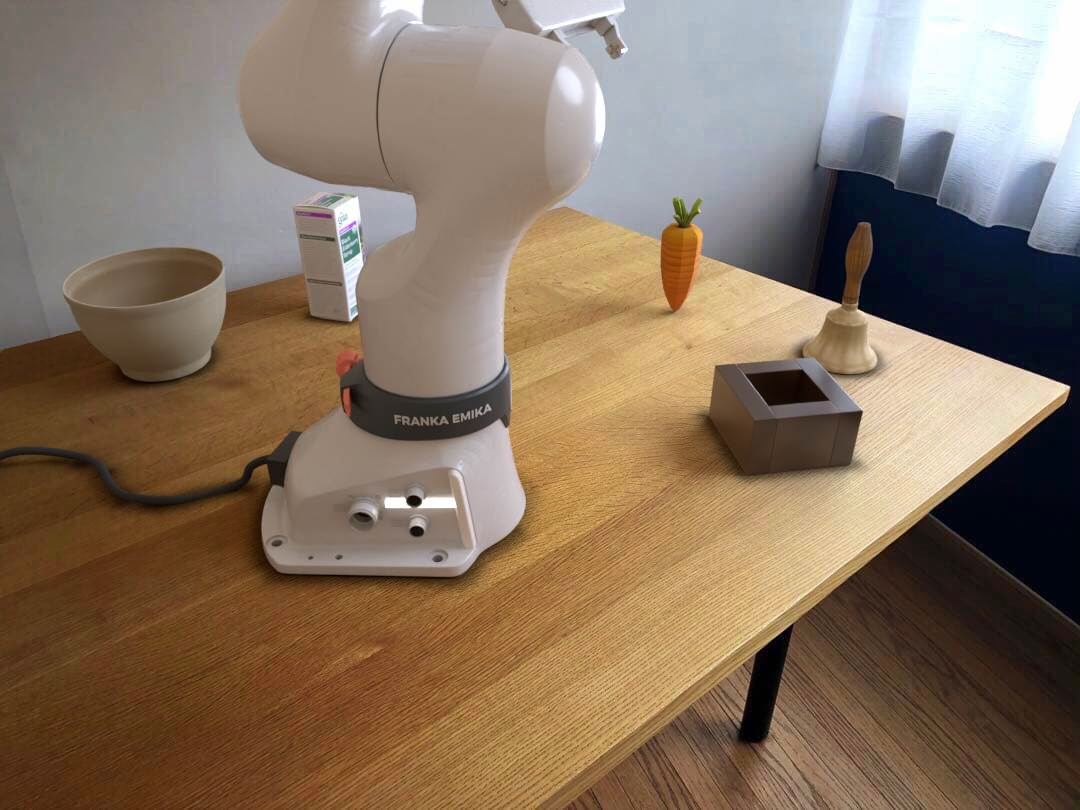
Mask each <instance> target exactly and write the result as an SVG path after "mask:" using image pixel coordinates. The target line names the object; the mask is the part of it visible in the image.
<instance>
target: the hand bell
mask: <svg viewBox="0 0 1080 810" xmlns="http://www.w3.org/2000/svg"><path fill="white" fill-rule="evenodd" d="M873 248H874V247H873V235H872V228H871V223H870V222H864V221H862V222H858V223H857V226H856V228H855V230H854V232H853V234H852V236H851V237H850V239H849V241H848V244H847V248H846V252H845V271H846V281H845V287H844V290H843V296H842V302H841V305H840V306H838V307H837V306H836V307H834V308H831V309H830V310H828V311H827V313H826V315H825V318H824V321H823V324H822V326H821V329H820V331H819V332H818V334H817V335H816V336H815V337H814V338H812V339H811V340H809V341H807V343H805V345H804V346H803V347H802V356H803V358H811V357H813V358H815V360H816V361H817V362H818V363H819V364H820V365H821V366H822V367H823V368H824V369H825V370H826V371H827V372H828V373H829V372H830V373H833V374H834V373H835V374H840V375H859V374H864V373H867V372H870V371H872V370H873V369H875V368H876V367H877V365H878V357H877V354H876V352H875V351H874V349H873V348H872V347H871V345H870V342H869V337H868V327H869V325H868V324H869V318H868V317H869V316H867V314H866V313H865V312H864V311H862V310H860V309H858V306H859V300H860V299H859V296H860V291H861V286H862V280H863V277H864V276H865V274H866V272H867V270H868V268H869V266H870V262H871V259H872V256H873V255H872V254H873Z"/></svg>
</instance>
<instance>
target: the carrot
mask: <svg viewBox="0 0 1080 810" xmlns="http://www.w3.org/2000/svg"><path fill="white" fill-rule="evenodd" d="M703 202H704V200H703V198H699V197H698V198H697V199H696V201H695V202H694V203H693V205H692V206H691V209H690V210H689V211H690V212H689V211H687V208H686V205H685V203H684V201H683V198H680V197H679V196H675V197H673V198H672V205H673V209H674V212H675V214H673V215H672V217H673V219H674V221H675V222H672V223H670V224H669V225H667V226H666V227H665V228H664V229H663V230H662V232H661V238H660V242H661V243H660V262H659V263H660V275H661V282H662V288H663V292H664V296H665V298H666V300H667V303H668V305H669V308H670V309H671V310H672V311H673V312H678V311H679V310H680V309H681V308H682V306H683V305H684V303H685V302H686V300H687V298H688V297H689V295H690V293H691V291H692V289H693V286H694V283H695V280H696V276H697V273H698V270H699V266H700V260H701V255H702V247H703V239H704V233H703V231H702V230H701V228H700V227H698V226H696V225H695V224H694V223H691V222H692V221H693V219H694V218H695V217H696V216H697V215H700V214H701V212H702V211H701V209H700V207H701V205H702V204H703Z"/></svg>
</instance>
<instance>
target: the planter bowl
mask: <svg viewBox="0 0 1080 810" xmlns="http://www.w3.org/2000/svg"><path fill="white" fill-rule="evenodd" d="M225 278H226V267H225V264H224V261H223V260H222V259H221V258H220V257H219V256H218V255H216V254H215V253H212V252H210V251H207V250H204V249H200V248H195V247H190V246H189V247H187V246H151V247H150V246H149V247H144V248H143V247H142V248H141V247H140V248H135V249H129V250H124V251H120V252H115V253H112V254H109V255H105V256H102V257H99V258H96V259H94V260H91V261H89V262H86V263H85V264H83V265H81V266H79V267H78V268H76V269H74V270H73V271H72V272H71V273H70V274H69V275H67V276H66V277H65V278H64V280H63V281H62V283H61V293H62V296H63V298H64V300H65V302H66V303H67V305H68V306H69V308H70V311H71V314H72V317H74V320H75V322H76V324H77V326H78V328H79V329H80V331H81V333H82V334H83V335H84V336H85V338H86V339H87V340H88V341H89V343H90V344H91V345H92V346H93V347H94V348H95V349H96V350H97V351H99V352H100V353H101V355H102V356H104V357H106V359H108V360H110V361H111V362H112V363H114V364H116V365H117V366H118V367H119V368H120V370H121V372H122V374H123V375H124V376H126V377H128V378H130V379H132V380H135V381H140V382H150V383H153V382H154V383H155V382H165V381H172V380H176V379H180V378H183V377H186V376H189V375H191V374H193V373H196V372H197V371H199V370H200V369H202V368H204V367H205V366H206V365H207V363H208V362H209V361H210V359H211V356H212V347H213V345H214V344H215V342H216V340H217V339H218V336H219V334H220V332H221V329H222V326H223V322H224V319H225V314H226V309H227V308H226V307H227V290H226V289H227V287H226V281H225V280H226V279H225Z"/></svg>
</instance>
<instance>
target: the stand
mask: <svg viewBox="0 0 1080 810" xmlns="http://www.w3.org/2000/svg"><path fill="white" fill-rule="evenodd" d="M863 414H864V410H863V409H862V408H861V407H860V405H859V404H858V403H857V402H856V401H855V400H854V399H853V398H852V397H851V396H850V395H849V394H848V393H847V392H846V390H845V389H844V388H843V387H842V386H841V385H840V384H839V383H838V382H837V381H836V380H835V379H834V377H833V376H831V375H830V373H829V371H826V370H825V369H824V368H823V367H822V366H821V365H820V364H819V363H818V362H817V361H816V360H815V358H813V357H811V358H804V357H800V358H799V357H798V358H789V359H787V358H786V359H775V360H764V361H753V362H751V361H750V362H738V363H727V364H715V365H714V371H713V379H712V388H711V395H710V402H709V411H708V417H709V420H710V421H711V422H712V425H714V427H715V429H716V430H717V431H718V433H719V435H720V436H721V439H722V440H723V441H724V443H725V444H726V446H727V447H728V449H729V451H730V452H731V454H732V455H733V457H734V458H735V460H736V461H737V463H738V465H739V467H740V468H741V470H742V471H743V473H744V474H745V476H751V475H761V474H771V473H781V472H792V471H801V470H810V469H821V468H829V467H839V466H850V465H852V461H853V457H854V452H855V448H856V444H857V439H858V435H859V431H860V426H861V423H862V417H863Z"/></svg>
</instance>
